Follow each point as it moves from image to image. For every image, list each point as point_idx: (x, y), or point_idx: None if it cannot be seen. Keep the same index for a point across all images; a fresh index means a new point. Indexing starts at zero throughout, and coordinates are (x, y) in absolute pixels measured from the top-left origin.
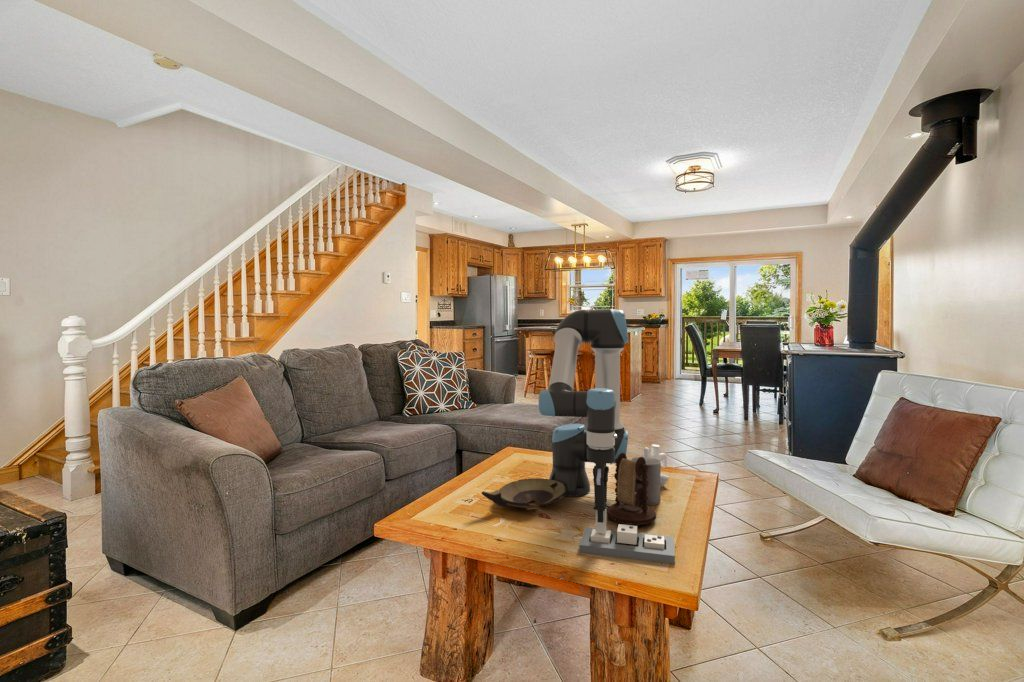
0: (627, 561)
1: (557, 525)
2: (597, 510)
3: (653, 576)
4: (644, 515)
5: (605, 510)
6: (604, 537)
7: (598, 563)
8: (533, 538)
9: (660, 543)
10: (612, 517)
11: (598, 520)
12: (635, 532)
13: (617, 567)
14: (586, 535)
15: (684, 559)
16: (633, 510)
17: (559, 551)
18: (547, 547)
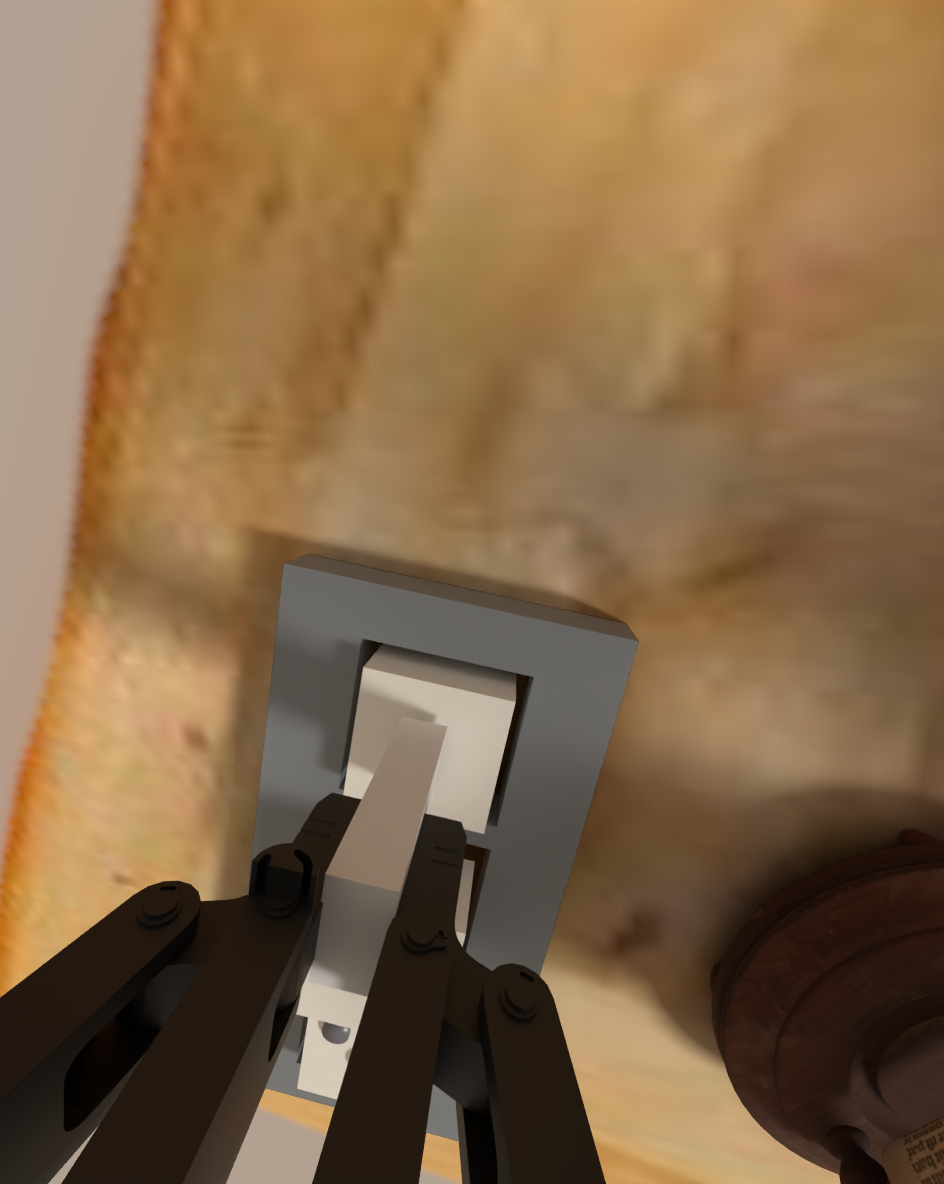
0: (236, 823)
1: (820, 385)
2: (328, 882)
3: (104, 906)
4: (787, 1117)
5: (312, 974)
6: (352, 767)
7: (181, 661)
8: (525, 152)
9: (305, 1073)
10: (839, 880)
11: (312, 812)
12: (311, 1011)
13: (156, 758)
14: (461, 632)
15: None
16: (899, 1078)
17: (305, 406)
18: (360, 303)
